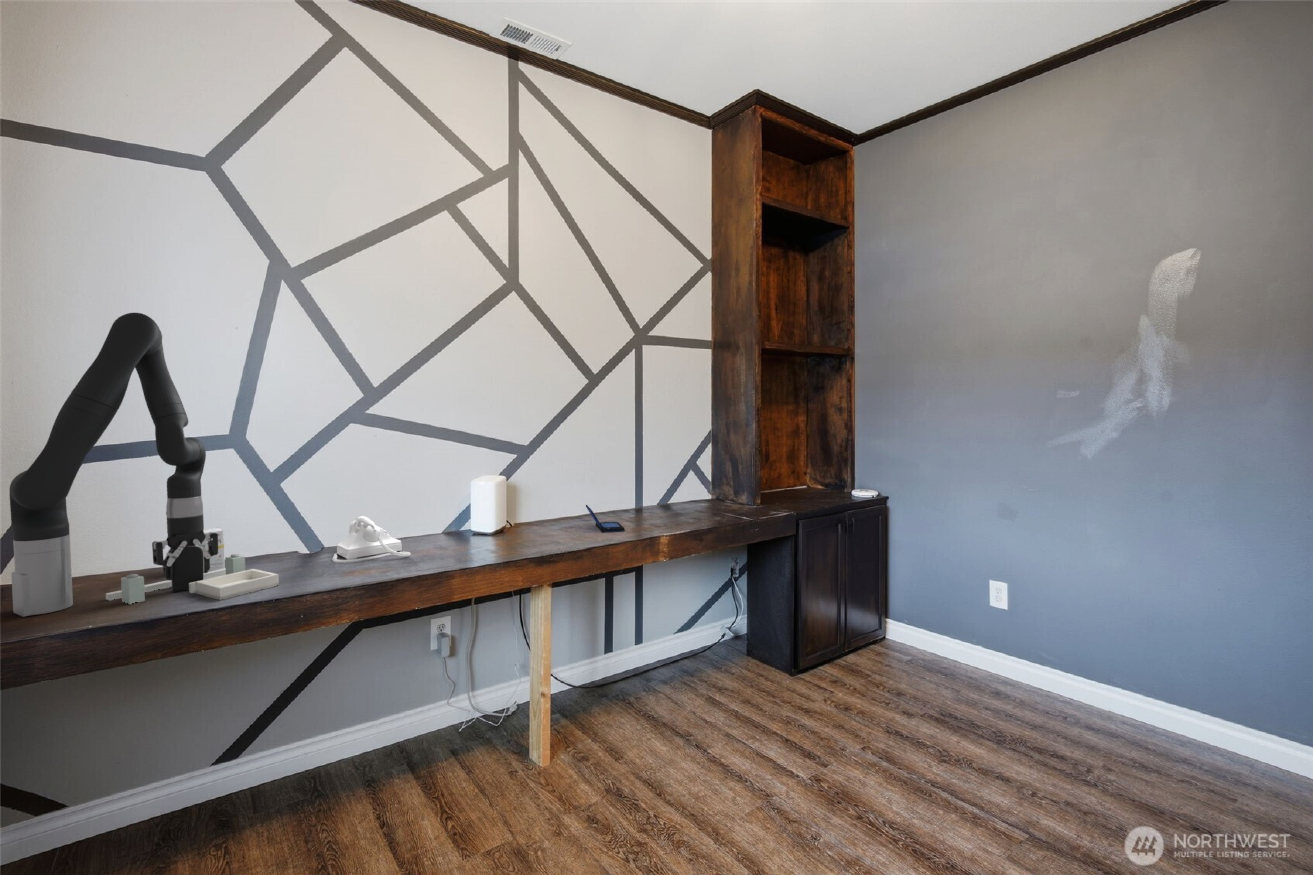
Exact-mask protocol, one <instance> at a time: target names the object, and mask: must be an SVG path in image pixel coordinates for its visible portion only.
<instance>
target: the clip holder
mask: <svg viewBox="0 0 1313 875" xmlns="http://www.w3.org/2000/svg"><path fill="white" fill-rule="evenodd" d="M224 557H225V568H224V569H219V570H213V571H208V573H204V580H205V579H210V578H214V577H219V576H223V575H228V574H232V573H237V572H241V571H246V556H244V555H240V553H234V554H233V553H232V554H230V556H224ZM120 587H121V588H120V589H121V590H116V591H111V592H107V593H105V600H106V601H114V599H115V600H118V599H121V603H124V602H125V604H127V603H128V604H127V605H133V604H132V603H134V604H136V603H135V602H138V603H141V602H142V603H143V602H145V601H146V598H145V596H146V593H150V592H154V590H155V591H159V590H158V589H160V590H163V589H168V588H172V581H171V580H170V581H169V580H164V581H163V580H162V581H157V582H154V583H148V584H145V577H144V576H142V575H139V574H138V573H131V574H127V575H126V576H123V577H120ZM145 592H146V593H145ZM188 593H189V594H194V593H195V582H192V583H189V590H188Z"/></svg>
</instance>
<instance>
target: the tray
mask: <svg viewBox="0 0 1313 875" xmlns="http://www.w3.org/2000/svg"><path fill="white" fill-rule="evenodd" d="M279 577H280V575H279V574H278V573H275V572H269V571H265V570H262V569H256V568H251V569H247V570H246V569H245V571H241V572H237V573H232V574H228V575H223V576H219V577H214V578H210V579H205V580H201V581H196V582H195V592H194V593H195V594H197V595H200V596H201V595H202V596H203V595H204V597H208V598H210V599H211V598H212V599H214V600H215V599H216V600H218V599H219V601H223V600H226V599H227V600H228V599H232V598H235V597H239V596H243V595H247V594H250V593H249V592H251V593H255V592H259V591H262V590H261V589H263V590H266V589H269V588H273V587H274V586H275V587H277V585H279V586H280V579H279ZM258 590H259V591H258ZM246 593H247V594H246ZM238 595H239V596H238ZM222 599H223V600H222Z"/></svg>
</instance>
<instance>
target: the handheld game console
mask: <svg viewBox="0 0 1313 875" xmlns="http://www.w3.org/2000/svg"><path fill="white" fill-rule="evenodd" d="M585 508H586V509H587V511H588V513H589V514H590V515H591V517H592V520H594V522H595V526H596V527H597V529H599V531H600V532H601V533H615V532H617V533H618V532H624V531H625V527H624V526H623V525H622V524H621V523H620V522H619V521H604V522H600V521H599V519H598V518H597V516H596V515H595V513H594V511H593V510H592V508H590V506H588V505H587V504H585Z"/></svg>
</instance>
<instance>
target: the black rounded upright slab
mask: <svg viewBox="0 0 1313 875" xmlns="http://www.w3.org/2000/svg"><path fill="white" fill-rule="evenodd" d="M174 551H175V550H172V551H171V554H173V553H174ZM171 566H173V580H171V581H172V587H171V592H172V593H174V592H184V591H189V583H192V582H196V581H201V580H204V553H203V549H202V548H201V547H200V546H188V547H184V548H183V550H182V551H181V553H180V554H179V556H178V557H177V558H176V559H175V561H174V562H173V564H172V565H171Z"/></svg>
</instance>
